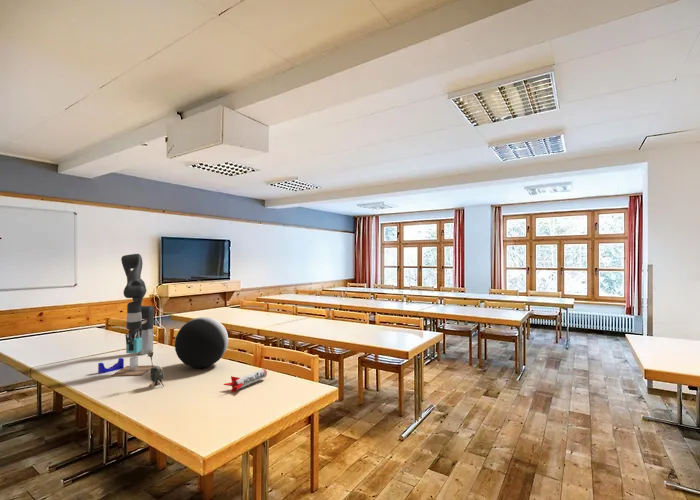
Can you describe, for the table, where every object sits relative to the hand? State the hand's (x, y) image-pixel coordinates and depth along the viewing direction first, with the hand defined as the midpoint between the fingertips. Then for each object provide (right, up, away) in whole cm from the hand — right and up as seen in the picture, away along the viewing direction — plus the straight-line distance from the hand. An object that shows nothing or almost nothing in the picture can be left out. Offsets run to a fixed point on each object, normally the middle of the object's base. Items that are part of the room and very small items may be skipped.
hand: (133, 349), depth 200 cm
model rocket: (+74, -14, -23) cm, 78 cm away
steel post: (0, -12, 0) cm, 12 cm away
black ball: (+35, -14, +11) cm, 39 cm away
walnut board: (0, -13, 0) cm, 13 cm away
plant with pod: (+26, -14, -23) cm, 37 cm away
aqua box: (0, -2, 0) cm, 1 cm away
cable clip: (-15, -14, +3) cm, 21 cm away
